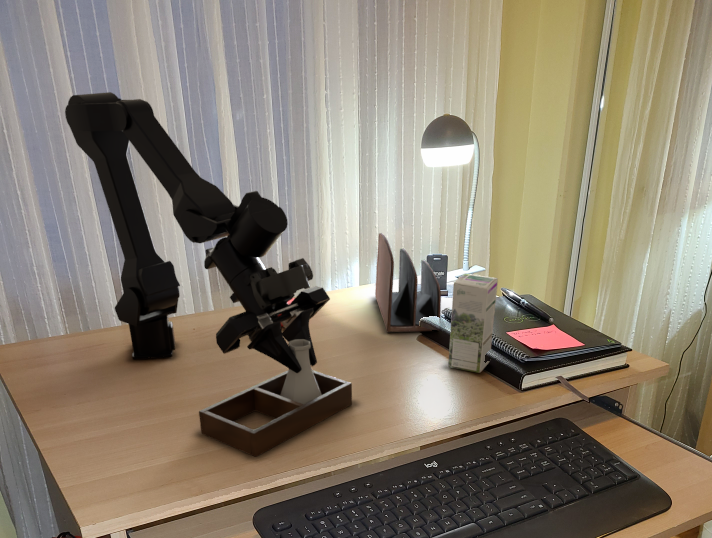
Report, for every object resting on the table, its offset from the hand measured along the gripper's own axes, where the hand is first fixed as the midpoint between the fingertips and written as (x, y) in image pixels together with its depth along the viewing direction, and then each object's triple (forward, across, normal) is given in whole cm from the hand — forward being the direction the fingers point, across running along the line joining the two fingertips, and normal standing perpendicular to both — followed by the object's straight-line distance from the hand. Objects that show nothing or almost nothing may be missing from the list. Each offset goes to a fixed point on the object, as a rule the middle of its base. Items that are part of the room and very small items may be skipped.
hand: (307, 368), depth 110 cm
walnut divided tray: (+4, -5, +6) cm, 8 cm away
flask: (+4, 0, +6) cm, 7 cm away
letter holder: (-4, +43, +14) cm, 45 cm away
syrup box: (+12, +29, -2) cm, 32 cm away
